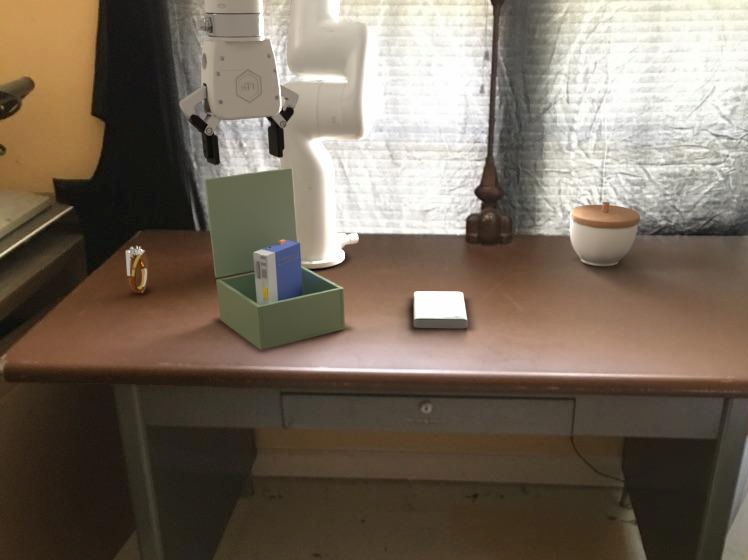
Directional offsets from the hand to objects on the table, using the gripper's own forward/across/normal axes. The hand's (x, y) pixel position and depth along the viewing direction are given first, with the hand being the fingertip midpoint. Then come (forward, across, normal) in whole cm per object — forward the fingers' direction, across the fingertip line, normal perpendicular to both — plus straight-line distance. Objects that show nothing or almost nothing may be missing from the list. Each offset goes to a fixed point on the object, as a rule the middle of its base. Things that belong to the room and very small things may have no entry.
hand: (245, 159), depth 120 cm
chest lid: (+11, +3, +4) cm, 12 cm away
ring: (+25, -11, +23) cm, 36 cm away
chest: (+25, +3, -2) cm, 25 cm away
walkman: (+24, +3, -2) cm, 25 cm away
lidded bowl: (+25, +68, -6) cm, 73 cm away
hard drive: (+25, +26, -12) cm, 38 cm away
